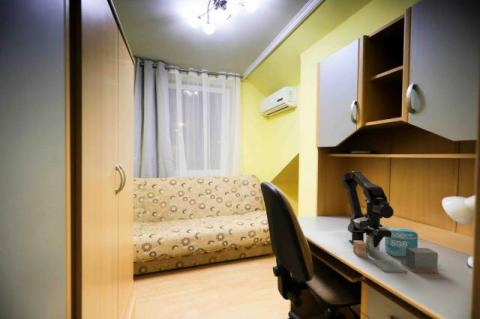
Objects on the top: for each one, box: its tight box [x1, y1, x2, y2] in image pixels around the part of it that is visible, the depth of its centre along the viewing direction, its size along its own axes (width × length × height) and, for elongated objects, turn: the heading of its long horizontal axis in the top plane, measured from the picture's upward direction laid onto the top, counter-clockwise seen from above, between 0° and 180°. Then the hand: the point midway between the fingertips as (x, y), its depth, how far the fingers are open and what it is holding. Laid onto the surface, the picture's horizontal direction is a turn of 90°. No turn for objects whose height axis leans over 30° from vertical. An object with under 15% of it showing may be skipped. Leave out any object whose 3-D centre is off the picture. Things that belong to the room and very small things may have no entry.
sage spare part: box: [365, 234, 381, 252], centre depth 107 cm, size 4×4×6 cm
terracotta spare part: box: [352, 240, 367, 257], centre depth 107 cm, size 4×4×6 cm
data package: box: [384, 227, 419, 258], centre depth 108 cm, size 12×4×12 cm, turn 77°
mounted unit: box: [400, 247, 440, 274], centre depth 94 cm, size 7×10×8 cm
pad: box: [371, 259, 408, 274], centre depth 95 cm, size 9×9×1 cm
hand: (372, 245), depth 107 cm, fingers closed on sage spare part, 4 cm apart
